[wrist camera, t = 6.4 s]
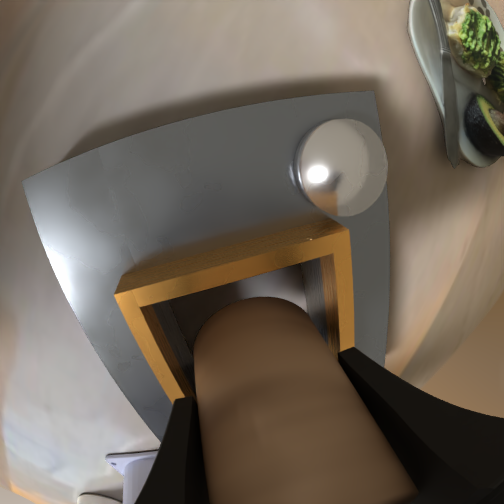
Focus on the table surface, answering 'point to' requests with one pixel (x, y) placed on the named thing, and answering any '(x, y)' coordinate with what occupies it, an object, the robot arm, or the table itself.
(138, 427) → the table surface
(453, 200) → the table surface
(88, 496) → the can
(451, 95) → the salad plate
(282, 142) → the gray peg socket base
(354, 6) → the table surface
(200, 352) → the walnut peg
